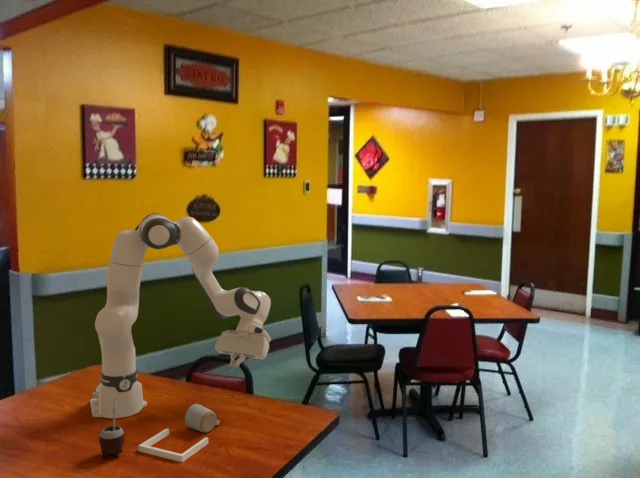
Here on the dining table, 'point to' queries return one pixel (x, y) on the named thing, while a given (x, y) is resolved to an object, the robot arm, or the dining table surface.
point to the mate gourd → (112, 439)
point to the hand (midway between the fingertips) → (233, 365)
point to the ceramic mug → (201, 418)
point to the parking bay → (168, 454)
